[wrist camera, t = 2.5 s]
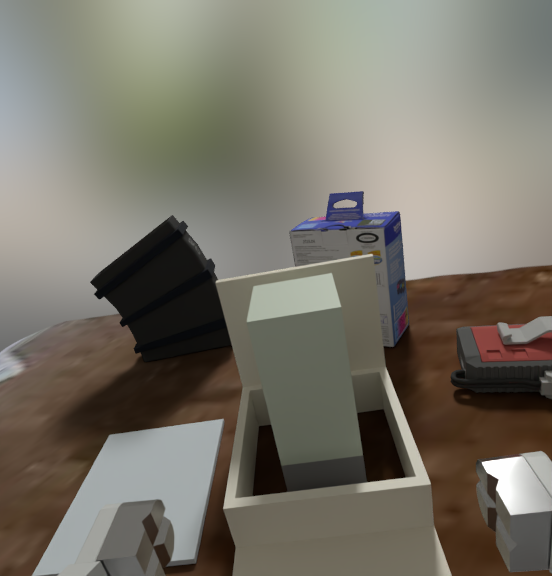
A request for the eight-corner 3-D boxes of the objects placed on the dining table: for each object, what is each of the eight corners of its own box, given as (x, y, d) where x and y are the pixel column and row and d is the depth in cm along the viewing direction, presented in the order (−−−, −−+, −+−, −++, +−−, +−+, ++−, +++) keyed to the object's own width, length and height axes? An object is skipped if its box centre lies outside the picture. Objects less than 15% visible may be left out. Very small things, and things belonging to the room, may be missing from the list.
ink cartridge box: (411, 322, 45) (401, 185, 40) (397, 349, 41) (383, 200, 35) (326, 315, 50) (306, 193, 45) (305, 339, 46) (281, 207, 41)
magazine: (262, 327, 47) (170, 219, 42) (170, 391, 49) (72, 295, 44) (261, 313, 50) (176, 211, 45) (176, 373, 53) (85, 282, 48)
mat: (34, 580, 26) (31, 576, 25) (111, 438, 37) (109, 434, 36) (195, 563, 25) (194, 558, 24) (224, 422, 36) (223, 418, 36)
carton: (227, 641, 21) (149, 439, 16) (252, 418, 36) (216, 280, 31) (465, 620, 19) (457, 397, 15) (388, 399, 34) (372, 253, 30)
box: (289, 501, 27) (246, 322, 22) (289, 444, 32) (253, 286, 27) (368, 491, 27) (341, 307, 22) (356, 436, 31) (331, 273, 27)
